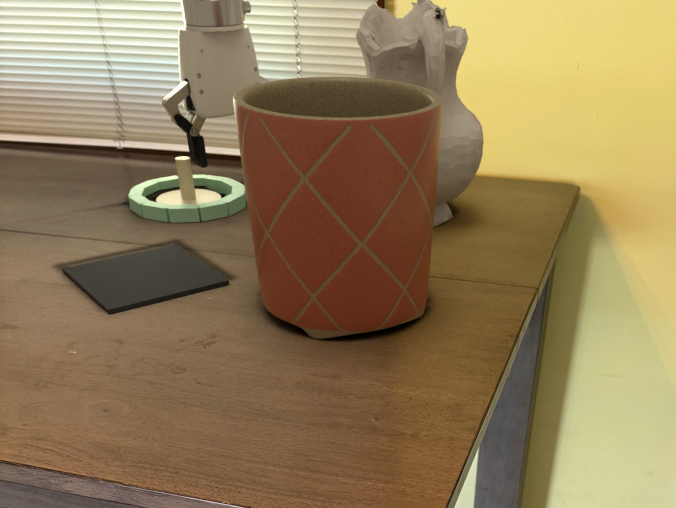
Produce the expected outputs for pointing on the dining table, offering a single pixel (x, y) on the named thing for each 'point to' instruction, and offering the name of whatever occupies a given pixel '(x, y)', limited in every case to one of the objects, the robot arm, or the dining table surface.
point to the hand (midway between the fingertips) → (231, 160)
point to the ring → (188, 212)
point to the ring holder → (187, 187)
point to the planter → (340, 198)
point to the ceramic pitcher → (428, 84)
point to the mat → (144, 278)
